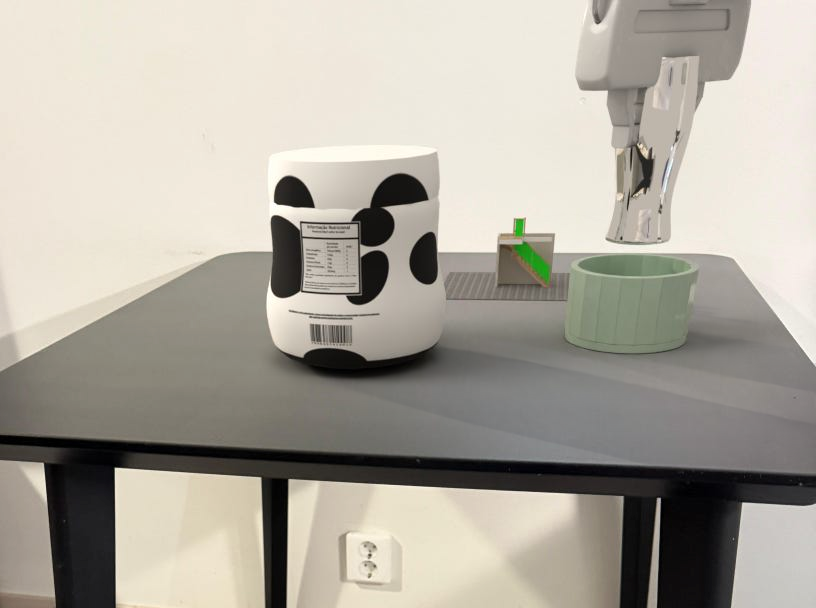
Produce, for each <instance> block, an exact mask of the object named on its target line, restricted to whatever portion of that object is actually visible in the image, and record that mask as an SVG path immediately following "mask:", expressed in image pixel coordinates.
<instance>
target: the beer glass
mask: <svg viewBox="0 0 816 608" xmlns="http://www.w3.org/2000/svg"><path fill="white" fill-rule="evenodd" d="M699 62H700V55H695V56H678V57H662V63H661V70H660V76H659V78H658V81H657V83H656V85H655V86H653V87H644V88H638V93H637V101H636V103H632V108H633V117H634V125H640V126H639V134H638V136H637V138H638V141H637V144H636V146H634V147H631V148H625V149H621V148H613V147H612V155H613V174H614V175H613V176H614V195H613V198H614V199H613V206H612V210H611V215H610V219H609V223H608V226H607V229H606V232H605V236H604V237H605V241H607V242H609V243H612V244H618V245H627V246H628V245H629V246H648V245H649V246H650V245H659V244H664V243H668V242H669V241H670V240H671V238H672V218H671V213H672V202H673V201H672V200H673V196H674V190H675V186H676V183H677V179H678V175H679V172H680V169H681V166H682V163H683V159H684V156H685V154H686V150H687V146H688V144H689V139H690V135H691V132H692V129H693V123H694V117H695V114H694V112H695V105H696V97H697V87H698V75H699ZM695 113H696V112H695Z"/></svg>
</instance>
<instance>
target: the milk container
mask: <svg viewBox="0 0 816 608" xmlns="http://www.w3.org/2000/svg"><path fill="white" fill-rule="evenodd" d="M439 162H440V161H439V153H438V150H437V148H436V147H435V148H434V147H429V146H421V145H411V144H409V145H408V144H352V145H332V146H319V147H307V148H298V149H292V150H284V151H280V152H279V151H278V152H276V153H271V155H270V156H269V158H268V166H267V169H268V170H267V171H268V172H267V193H268V199H269V206H268V207H269V208H268V213H269V224H270V232H271V233H270V234H271V235H270V236H271V246H272V263H271V271H270V276H269V283H268V288H267V294H266V316H267V321H268V328H269V331H270V336H271V339H272V342H273V343H274V345H275V347H276V348H277V350H279V352H280V353H282V354H283V355H284V356H286V357H287V358H288V359H290V360H293V361H296V362H298V363H301V364H304V365H308V366H314V367H320V368H321V367H322V368H327V369H336V370H337V369H338V370H339V369H340V370H341V369H347V370H361V369H362V370H363V369H377V368H383V367H388V366H394V365H399V364H404V363H407V362H410V361H412V360H415V359H418V358H421V357H423V356H424V355H426V354H427V353H429V351H431V350H432V349H434V347H435V346H437V344H438V343H439V341H440V339H441V336H442V335H443V330H444V326H445V320H446V313H447V299H446V292H445V287H444V283H445V281H444V278H443V274H442V269H441V265H440V259H439V248H438V246H439V245H438V244H439V241H438V240H439V220H440V200H439V196H440V195H439V194H440V187H441V185H440V181H441V175H440V163H439Z"/></svg>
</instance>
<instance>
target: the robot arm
mask: <svg viewBox="0 0 816 608" xmlns="http://www.w3.org/2000/svg"><path fill="white" fill-rule="evenodd" d="M751 8H752V0H587V2H586V6H585V10H584V15H583V20H582V24H581V29H580V36H579V41H578V47H577V52H576V53H577V54H576V61H575V70H574V77H575V80H576V83H577V86H578V88H579V90H580V91H586V92H607V96H606V107H607V112H608V115H609V118H610V123H611V126H612V133H611V141H610V144H611V148H612V149H613V148H621V149H625V148H631V147H634V146H636V144H637V141H638V138H637V136H638V134H639V126H640V125H634V117H633V108H632V103H636V101H637V93H638V88H644V87H653V86H655V85H656V83H657V81H658V78H659V76H660V70H661V63H662V57H678V56H695V55H700V62H699V75H698V87H697V97H696V105H695V112H694V115H695V114H696V112H697V111H698V107H699V105H700V103H701V101H702V99H703V97H704V92H705V86H706V83H711V82H721V81H729V80H731V79H732V77H733V76H734V74H735V73H736V71H737V68H738V67H739V66H740V65H739V64H740V62H741V59H742V55H743V52H744V51H743V50H744V47H745V40H746V35H747V31H748V30H747V29H748V25H749V20H750V14H751Z"/></svg>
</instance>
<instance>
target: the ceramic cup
mask: <svg viewBox="0 0 816 608" xmlns="http://www.w3.org/2000/svg"><path fill="white" fill-rule="evenodd" d="M569 269H570V270H569V273H570V279H569V289H568V299H567V300H566V310H565V322H564V334H563V335H564V339H565V340H566V341H567V342H568V343H570V344H572V345H574V346H576V347H579V348H582V349H585V350H586V349H587V350H590V351H597V352H603V353H611V354H629V355H630V354H637V355H638V354H653V353H662V352H668V351H670V350H675V349H677V348H679V347H682V346H683V345H684V344H685V343H686V342H687V338H688V334H689V330H690V324H691V319H692V311H693V305H694V300H695V295H696V289H697V288H696V287H697V284H698V283H697V282H698V276H699V271H700V268H699V264H698V263H696V262H695V261H692V260H691V259H687V258H683V257H679V256H672V255H665V254H657V253H640V252H639V253H635V252H634V253H632V252H630V253H629V252H626V253H625V252H623V253H605V254H604V253H603V254H596V255H589V256H584V257H580V258H578V259H576V260H574V261H572V262H571V264H570V268H569Z"/></svg>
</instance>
